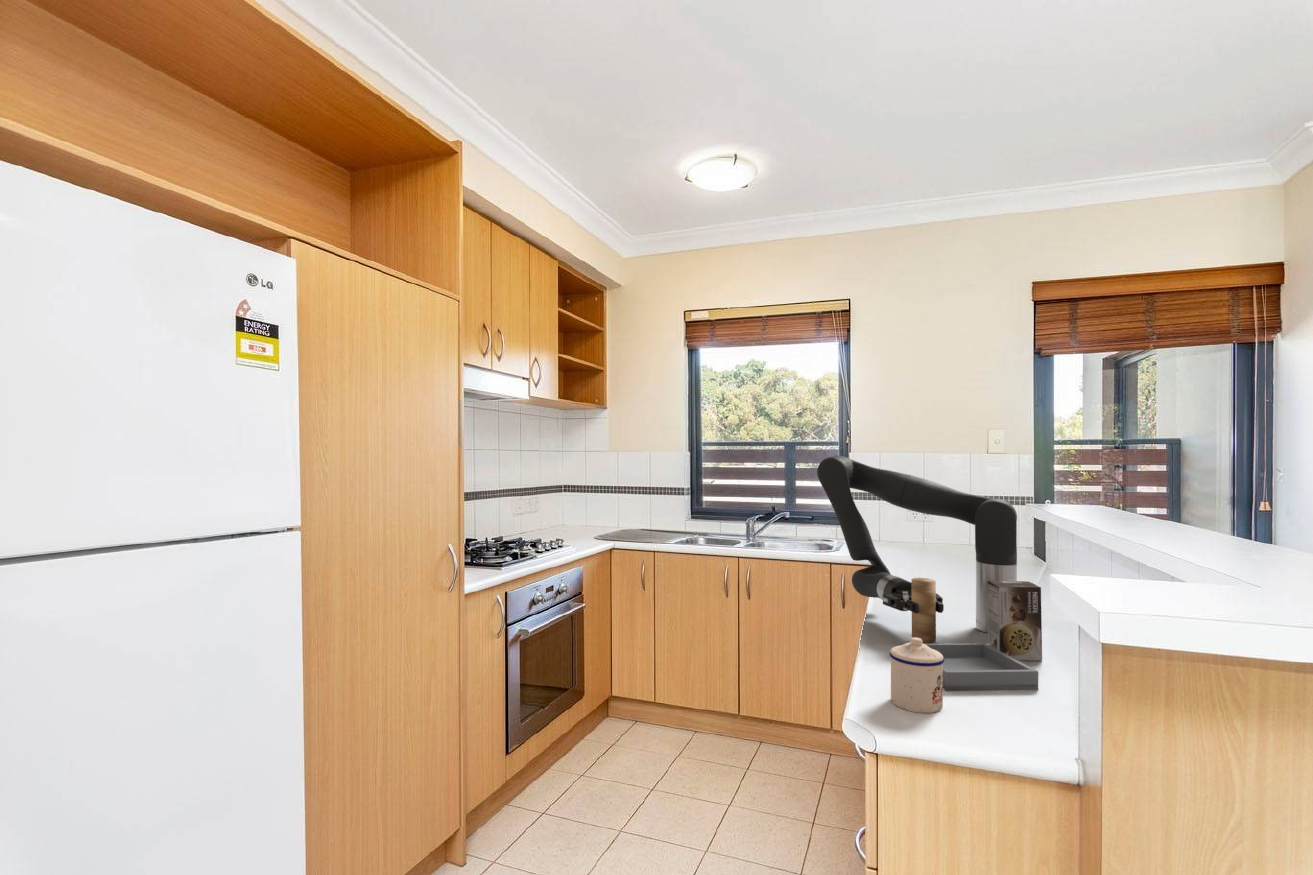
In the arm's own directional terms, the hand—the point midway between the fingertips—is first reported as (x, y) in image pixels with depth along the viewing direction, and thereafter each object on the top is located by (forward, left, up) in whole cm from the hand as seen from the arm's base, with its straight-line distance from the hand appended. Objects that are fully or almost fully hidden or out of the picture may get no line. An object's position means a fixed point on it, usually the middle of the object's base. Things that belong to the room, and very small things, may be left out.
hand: (929, 608), depth 148 cm
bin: (0, +16, -9) cm, 19 cm away
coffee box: (-17, +5, -10) cm, 20 cm away
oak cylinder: (0, -3, -8) cm, 8 cm away
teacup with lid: (+17, +30, -10) cm, 36 cm away
